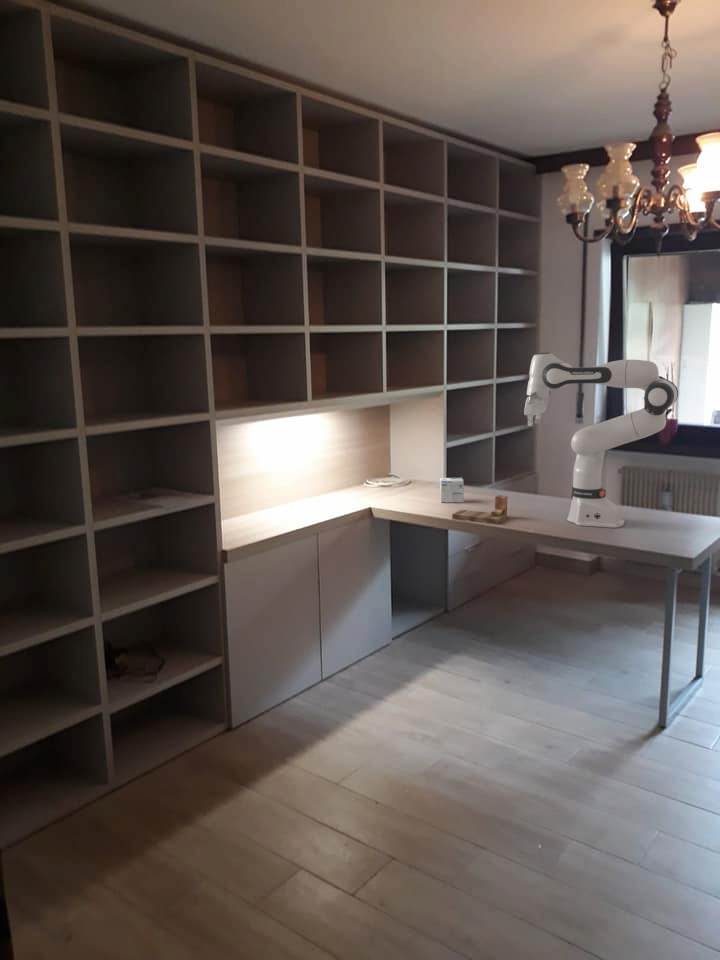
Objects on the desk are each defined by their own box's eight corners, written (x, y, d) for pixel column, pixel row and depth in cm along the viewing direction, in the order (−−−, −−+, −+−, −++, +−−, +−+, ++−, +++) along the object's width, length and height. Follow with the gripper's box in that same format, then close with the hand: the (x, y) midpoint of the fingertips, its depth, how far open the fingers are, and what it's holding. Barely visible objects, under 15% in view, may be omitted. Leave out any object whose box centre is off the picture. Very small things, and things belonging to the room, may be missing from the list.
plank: (505, 519, 326) (505, 514, 325) (497, 524, 317) (498, 519, 317) (461, 514, 335) (461, 509, 335) (452, 518, 327) (452, 514, 326)
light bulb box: (462, 500, 363) (462, 477, 361) (463, 503, 356) (464, 480, 354) (439, 500, 363) (439, 477, 361) (440, 503, 356) (440, 480, 354)
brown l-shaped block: (506, 516, 330) (507, 495, 328) (499, 521, 322) (500, 500, 320) (497, 515, 332) (498, 495, 330) (490, 520, 324) (490, 499, 322)
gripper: (537, 394, 312) (533, 428, 315) (552, 390, 329) (547, 423, 333) (522, 392, 315) (518, 426, 318) (537, 389, 332) (533, 420, 335)
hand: (533, 424), depth 325 cm, fingers open, 8 cm apart
